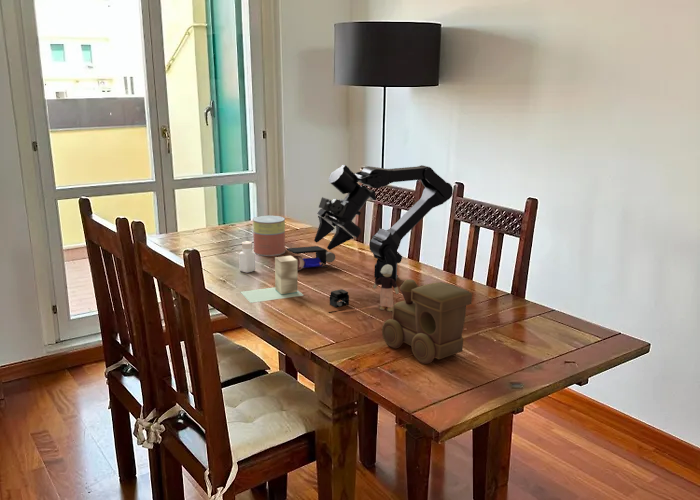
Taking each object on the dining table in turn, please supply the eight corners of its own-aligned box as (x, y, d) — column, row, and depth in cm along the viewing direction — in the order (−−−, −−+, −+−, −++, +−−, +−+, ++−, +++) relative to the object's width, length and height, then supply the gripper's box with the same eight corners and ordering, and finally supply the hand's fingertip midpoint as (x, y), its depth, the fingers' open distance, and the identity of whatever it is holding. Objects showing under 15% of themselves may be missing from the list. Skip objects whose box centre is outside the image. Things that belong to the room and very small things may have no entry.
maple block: (291, 287, 194) (291, 255, 192) (297, 293, 190) (297, 260, 187) (275, 290, 192) (274, 257, 189) (281, 295, 188) (281, 261, 185)
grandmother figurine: (400, 308, 181) (402, 264, 178) (397, 312, 178) (399, 268, 174) (374, 304, 183) (375, 261, 180) (370, 308, 180) (371, 264, 177)
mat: (291, 286, 197) (291, 285, 197) (304, 296, 188) (304, 295, 188) (239, 293, 190) (239, 291, 190) (250, 304, 181) (250, 302, 181)
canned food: (291, 250, 236) (291, 218, 233) (271, 257, 227) (271, 224, 223) (267, 245, 242) (266, 214, 238) (246, 252, 232) (246, 219, 229)
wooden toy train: (470, 359, 150) (475, 291, 145) (435, 372, 143) (439, 301, 138) (411, 332, 165) (414, 269, 160) (376, 342, 158) (378, 277, 154)
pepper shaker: (247, 273, 209) (246, 244, 206) (238, 271, 211) (237, 242, 208) (256, 270, 212) (255, 242, 209) (247, 268, 214) (247, 240, 211)
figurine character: (324, 266, 223) (284, 268, 214) (326, 244, 221) (286, 245, 213) (334, 272, 217) (293, 273, 209) (336, 249, 215) (296, 250, 207)
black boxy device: (326, 316, 175) (326, 299, 174) (311, 308, 181) (311, 291, 180) (366, 307, 182) (366, 291, 181) (350, 299, 188) (350, 283, 187)
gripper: (321, 181, 197) (290, 223, 196) (349, 192, 181) (315, 237, 180) (346, 203, 203) (316, 243, 202) (375, 215, 187) (342, 259, 186)
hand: (321, 245), depth 192 cm, fingers open, 9 cm apart
